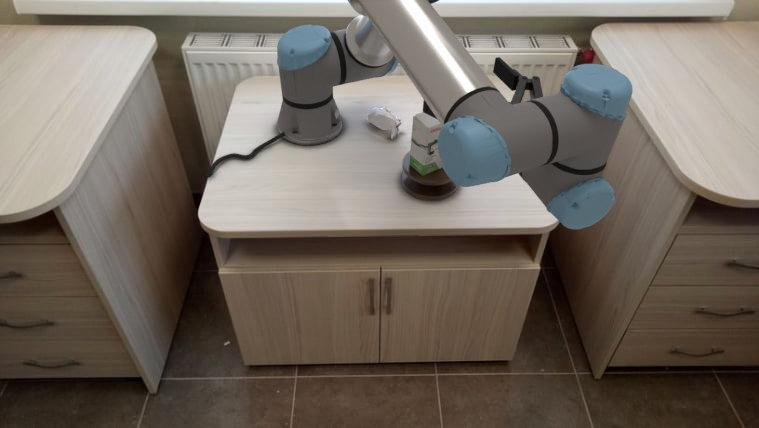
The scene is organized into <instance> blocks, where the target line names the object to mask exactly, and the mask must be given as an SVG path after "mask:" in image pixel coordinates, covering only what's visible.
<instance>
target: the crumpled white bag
mask: <svg viewBox="0 0 759 428" xmlns="http://www.w3.org/2000/svg"><path fill="white" fill-rule="evenodd" d="M366 118H367V119H366V120H365V122H367V123H370V124H372V125H374V126H375V127H376V128H378V129H380V130H382V131H386V130H388V131H391V134H390V139H391V140H393V139H394V137H396V135H400V132H401V130H400V128H399V127H400V126H401V125H402V124H403V122H402V118H400V117H397V116H396V115H395V114H394V113H393V112H392V110H391V109H390V108H389V107H387V106H383V107H371V108H369V109H368V111H367V114H366Z"/></svg>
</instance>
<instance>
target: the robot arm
mask: <svg viewBox="0 0 759 428" xmlns="http://www.w3.org/2000/svg"><path fill="white" fill-rule="evenodd" d="M439 1H440V0H347V2H348V3H349V5H350V7H351V8H352V9H353V10H354V11H355V12H356V13H357V14H358V15H357V16H356V17H354V18H353V19H352V20H351V21H350V23H349V24H348V25H347V27H346V28H343V29H338V30H333V31H329V29H328V28H327V27H325V26H322V25H318V24H315V25H313V24H304V25H299V26H296V27H293V28H291V29H289V30H288V31H286V32H285V33H284V34H282V36H281V37H280V38H279V39H278V41H277V46H276V63H277V66H278V73H279V81H280V90H281V97H282V100H281V101H282V102H281V105H280V108H279V114H278V117H277V129H278V133H279V134H277V135H275V136H273V137H272V138H270V139H268V140H266V141H265V142H263V143H261V144H260V145H258V146H257V147H255V148H254V149H253V150H252V151H251V152H250V153H249V154H241V153H234V152H233V153H229V154H225V155H223V156H220V157H218V158H217V159H216V160H214V162H213V163H212V164H211V165H210V167H209V169H208V170H207V172H206V174H205V179H208V178H209V179H210V178H211V176H212V174H213V173H214V171H215V169H216V168H217V167H218V166H219V165H220V164H221V163H222V162H224V161H226V160H229V159H234V158H236V159H240V160H250V159H252V158H254V157H255V156H256V154H257V153H258V152H260V151H261V150H263V149H264V148H266V147H268V146H270V145H272V144H273V143H275V142H277V141H279V140H281V139H282V138H283V139H284V140H286V141H288V142H290V143H292V144H296V145H300V146H315V145H321V144H325V143H327V142H330V141H333V140H334V139H335V138H336V137H338V135H339V134H340V133H341V131H342V129H343V117H342V114H341V111H340V109H339V106H338V105H337V102H336V100H335V98H334V87H337V86H342V85H346V84H347V85H348V84H351V83H355V82H360V81H361V82H362V81H365V80H370V79H374V78H375V79H377V78H383V77H385V76H387V75H390V74H392V73H393V72H395V70H396V69H397V67H398V66H401V69H403V71H404V73H405V74H406V75H407V77H408V78H409V80H410V81H411V83H412V84H413V85H414V87H415V89H416V90H417V91H418V93H419V94H420V96H421V97H422V99H423V100H422V101H423V102H422V112H424V113H426V114H428V115H430V116H431V117H433V118H435V119H437V120H438V121H439V122H440V124H441V125H442V128H441V130H440V132H439V135H438V153H439V157H440V159H441V160H442V163H443V169H444V171H445V172H446V174H447V175H448V177H449V178H450V179H451V180H452V181H453V182H454V183H456V184H458V185H457V186H461V187H464V188H469V187H470V188H471V187H476V186H480V185H486V184H491V183H498V182H500V181H503V180H504V179H505V178H508V177H511V176H514V175H519V176H520V178H521V179H522V180H523V181H524V182H525V183H526V184H527V185H528V186H529V188H530V190H532V192H533V193H534V194H535V196H537V198H538V199H539V200H540V202H541V203H542V204H543V205H544V207H545V209H546V211H547V212H548V213H550V214H551V215H552V216H554V218H555V219H556V220H557V221H558V222H559V223H560V224H561V225H562V226H563V227H565V228H567V229H570V230H582V229H583V228H589V227H591V226H593V225H595V224H596V223H598V222H599V221H601V220H602V219H603V218H604V217H605V216H607V214H608V213H609V212H610V211H611V209H612V207H613V206H614V204H615V200H616V197H615V189H614V188H613V186H612V185H611V184H610V183H609V180H608V179H607V178H604V175H603V174H604V172H605V169H606V168H607V162H608V160H609V157H610V155H611V153H612V150H613V147H614V145H615V143H616V140H617V138H618V135H619V133H620V131H621V128H622V126H623V123H624V121H625V119H627V111H628V107H629V105H630V101H631V98H632V95H633V84H632V82H631V80H630V78H629V77H628V76H627V75H625V74H624V73H622V72H620V71H619V70H618V69H615V68H614V67H611V66H607V65H605V64H599V63H582V64H578V65H576V66H573V67H572V68H571V69H570V70H569V71H568V72H566V74H565V76H564V78H563V81H562V82H561V83H560V87H559V88H560V89H559V92H556V93H552V94H548V95H545V96H544V93H543V88H542V83H541V78H540V77H539V76H538V75H533V76H531V78H528V76H527V75H523V74H521V73H520V72H519V71H518V70H517V69H515V68H512V67H511V66H509V64H508V63H507V62H505V60H504V59H502V58H501V57H500V56H497V57H495V58H494V63H493V70H492V73H493V74H494V75H495V76H496V77H497V78H498V79H499V80H500V81H501V82H502V83H503V84H504V85H505V86H506V87H507V88H508V89H509V90H510V91H512V92H513V91H514V94H513V95H512V98H511V100H510V101H508V100H507V98H506V97H505V96H504V94H502V92H501V91H500V90H499V89H498V88H497V87H496V85H495V84H494V83H493V82H492V80H491V79H490V78H489V76H488V75H487V74H486V73H485V71H484V70H483V69H482V67H481V66H480V65H479V64H478V62H477V61H476V60H475V58H474V57H473V56H472V55H471V53H470V52H469V51H468V50H467V48H466V47H465V46H464V44H463V43H462V42H461V41H460V40H459V38H458V37H457V36H456V34H455V33H454V32H453V30H451V28H450V27H449V25H448V24H447V23H446V22H445V20H444V19H443V18H442V16H441V15H440V14H439V13H438V11H437V10H436V9H435V7H433V4H435V3H438V2H439ZM526 91H528V93H529V100H525V101H523V98H524V96H525V93H526ZM522 101H523V102H522Z"/></svg>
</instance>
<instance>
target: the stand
mask: <svg viewBox="0 0 759 428" xmlns="http://www.w3.org/2000/svg"><path fill="white" fill-rule="evenodd" d="M409 162H410V150H409V151H408V152H407V153H406V154H405V155H404V157H403V159H402V171H403V172H402V173H401V185H402V187H403V189H404V191H405V192H406V193H407V194H409V195H410V196H412V197H413V198H415V199H419V200H422V201H426V202H427V201H428V202H435V201H436V202H437V201H441V200H445V199H448V198H449V197H451V196H452V195H454V194H455V192H456V191H457V190H458V186H459V185H458V184H456V183H454V182H453V181H452V180H451V179H450V178H449V177H448V175H447V174H446V172H445V171H444V169H443V168H441V169H438V170H436V171H433V172H431V173H428V174H426V175H424V176H423V175H421V174H420V173H419V172H417V171H416V170H415V169H414V168H413V167H412V166H411V165H409Z"/></svg>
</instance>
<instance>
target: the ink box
mask: <svg viewBox="0 0 759 428" xmlns="http://www.w3.org/2000/svg"><path fill="white" fill-rule="evenodd" d="M441 128H442V125H441V124H440V122H439V121H438V120H437V119H435V118H433V117H431V116H430V115H428V114H426V113H424V112H423V111H421V112H419V113H415V115H414V116H412V126H411V139H410V149H409V151H410V162H409V165H411V166H412V167H413V168H414V169H415V170H416V171H417V172H419V173H420V174H421V175H423V176H424V175H426V174H428V173H431V172H433V171H436V170H438V169H441V168H443V163H442V160H441V159H440V157H439V153H438V135H439V132H440V130H441Z"/></svg>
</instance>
